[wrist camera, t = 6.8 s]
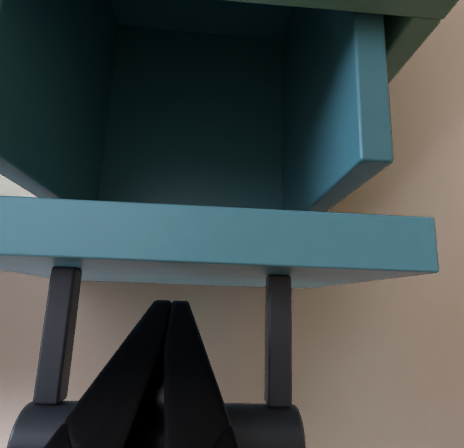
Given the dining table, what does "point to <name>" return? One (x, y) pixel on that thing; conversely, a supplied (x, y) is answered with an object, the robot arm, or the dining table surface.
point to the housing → (387, 21)
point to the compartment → (194, 168)
